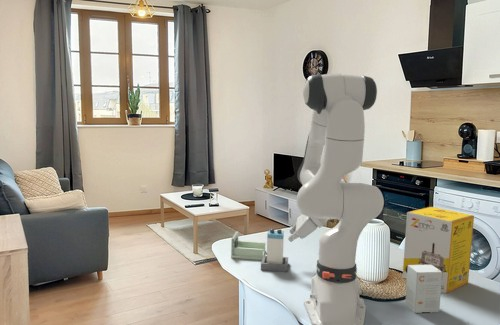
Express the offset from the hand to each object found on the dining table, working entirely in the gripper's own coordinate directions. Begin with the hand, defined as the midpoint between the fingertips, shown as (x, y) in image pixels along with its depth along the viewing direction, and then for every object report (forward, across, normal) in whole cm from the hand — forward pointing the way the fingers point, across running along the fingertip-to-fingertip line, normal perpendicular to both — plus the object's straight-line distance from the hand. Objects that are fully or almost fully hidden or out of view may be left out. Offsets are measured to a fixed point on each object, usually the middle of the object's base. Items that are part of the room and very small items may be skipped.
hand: (290, 236), depth 157 cm
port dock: (+21, -11, -4) cm, 24 cm away
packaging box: (-29, +2, +47) cm, 55 cm away
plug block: (+13, +1, +5) cm, 14 cm away
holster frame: (+13, +1, +5) cm, 14 cm away
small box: (-22, +26, +39) cm, 52 cm away
